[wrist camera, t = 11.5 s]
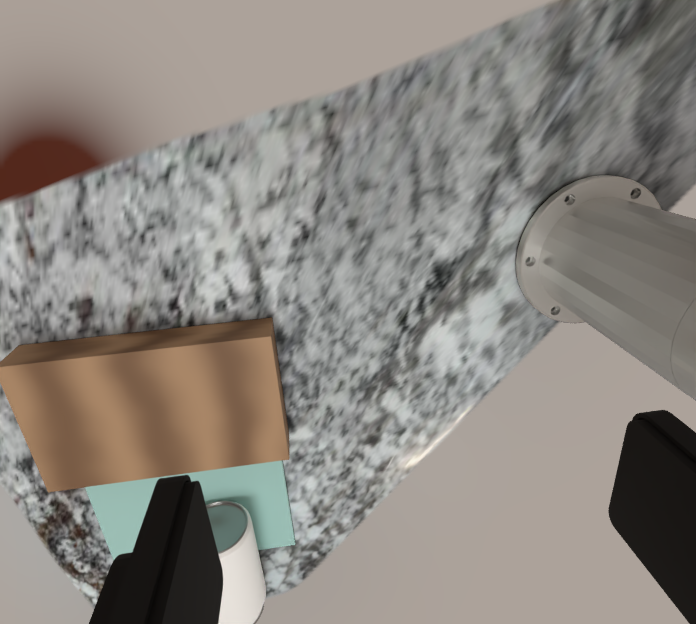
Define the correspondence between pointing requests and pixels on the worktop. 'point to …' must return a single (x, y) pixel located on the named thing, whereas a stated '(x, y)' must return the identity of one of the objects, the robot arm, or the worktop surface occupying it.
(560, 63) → the worktop surface
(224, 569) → the can
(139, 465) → the board
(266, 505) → the mat
